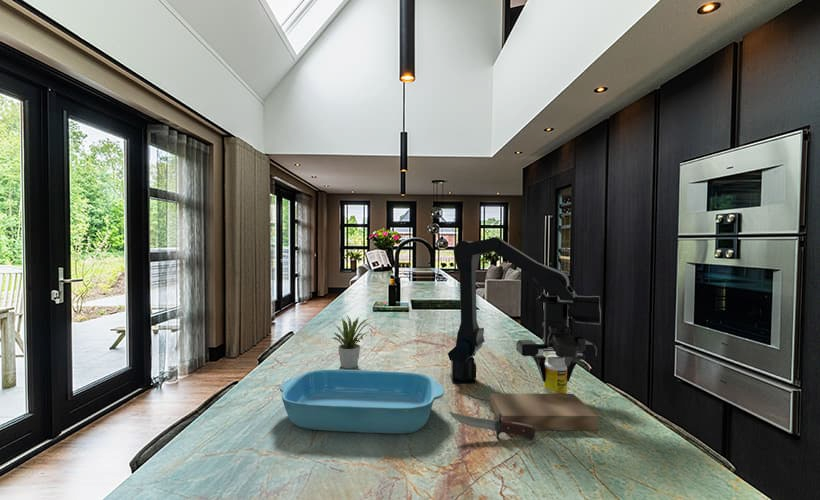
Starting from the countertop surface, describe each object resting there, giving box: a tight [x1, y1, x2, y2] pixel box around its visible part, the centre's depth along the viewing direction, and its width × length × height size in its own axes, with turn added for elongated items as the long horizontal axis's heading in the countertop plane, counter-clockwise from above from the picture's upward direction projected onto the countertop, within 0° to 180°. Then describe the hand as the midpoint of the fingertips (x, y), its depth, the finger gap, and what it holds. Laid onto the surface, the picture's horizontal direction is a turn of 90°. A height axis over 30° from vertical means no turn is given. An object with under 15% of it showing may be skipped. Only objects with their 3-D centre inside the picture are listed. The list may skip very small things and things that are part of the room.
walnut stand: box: [489, 392, 599, 431], centre depth 85 cm, size 20×12×3 cm, turn 90°
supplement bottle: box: [543, 354, 568, 394], centre depth 97 cm, size 6×6×10 cm
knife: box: [448, 411, 536, 440], centre depth 76 cm, size 17×1×5 cm, turn 87°
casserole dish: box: [278, 368, 445, 434], centre depth 86 cm, size 37×22×7 cm, turn 87°
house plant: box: [328, 314, 373, 369], centre depth 121 cm, size 14×14×16 cm
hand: (555, 381), depth 97 cm, fingers closed on supplement bottle, 5 cm apart
